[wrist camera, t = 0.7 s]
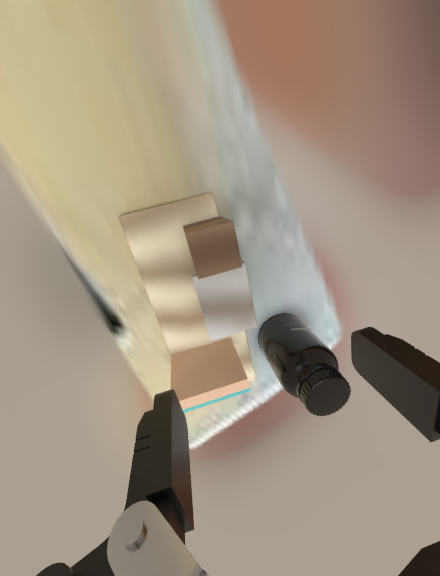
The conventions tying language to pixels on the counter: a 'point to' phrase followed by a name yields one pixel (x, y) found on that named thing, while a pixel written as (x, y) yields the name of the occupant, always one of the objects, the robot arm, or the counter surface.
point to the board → (175, 273)
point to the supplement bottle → (304, 365)
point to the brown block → (220, 277)
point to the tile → (207, 374)
